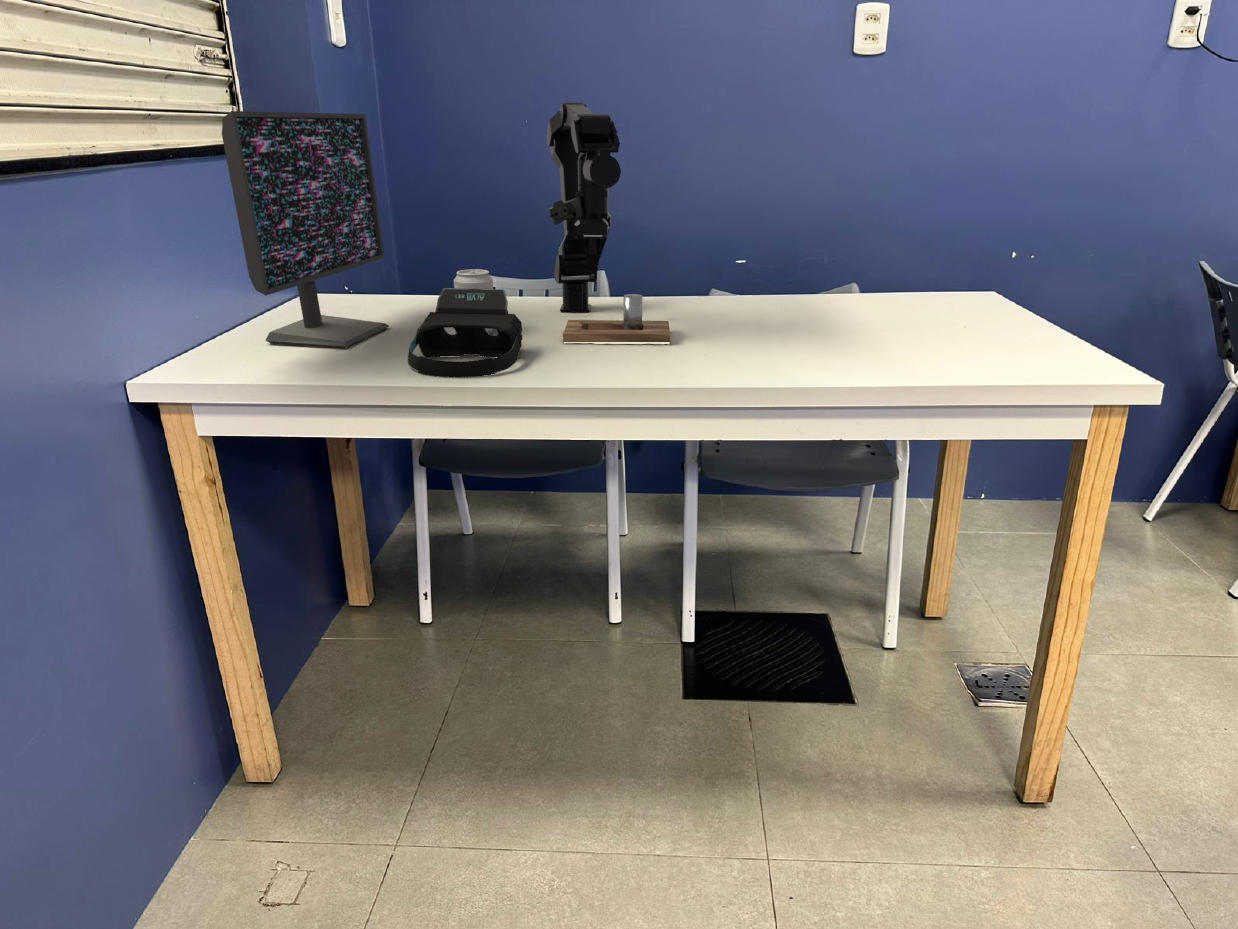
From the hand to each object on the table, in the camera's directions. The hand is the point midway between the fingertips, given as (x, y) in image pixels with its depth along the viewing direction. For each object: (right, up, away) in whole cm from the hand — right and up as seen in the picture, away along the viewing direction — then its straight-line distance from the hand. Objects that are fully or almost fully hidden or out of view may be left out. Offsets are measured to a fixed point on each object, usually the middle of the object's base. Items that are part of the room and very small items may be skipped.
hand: (593, 267), depth 169 cm
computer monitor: (-51, -14, -3) cm, 53 cm away
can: (-23, -13, 0) cm, 27 cm away
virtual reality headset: (-21, -21, -20) cm, 36 cm away
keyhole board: (+5, -14, -3) cm, 15 cm away
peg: (+8, -14, -3) cm, 16 cm away
